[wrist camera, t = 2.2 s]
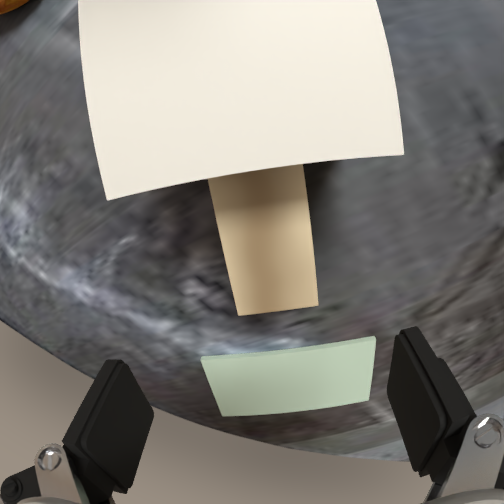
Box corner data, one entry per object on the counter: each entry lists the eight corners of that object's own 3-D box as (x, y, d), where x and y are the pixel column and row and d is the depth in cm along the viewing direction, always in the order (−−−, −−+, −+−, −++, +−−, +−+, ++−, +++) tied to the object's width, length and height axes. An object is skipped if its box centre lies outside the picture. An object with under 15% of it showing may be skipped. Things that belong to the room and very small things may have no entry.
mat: (374, 335, 29) (375, 339, 28) (367, 396, 32) (368, 400, 32) (201, 356, 31) (200, 360, 30) (222, 412, 34) (222, 416, 34)
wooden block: (279, 84, 21) (285, 62, 13) (304, 254, 26) (318, 305, 18) (214, 96, 21) (188, 81, 14) (246, 262, 26) (238, 315, 19)
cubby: (314, -9, 17) (341, -85, 7) (343, 141, 22) (403, 154, 11) (149, 21, 18) (78, -30, 8) (174, 167, 23) (107, 200, 13)
